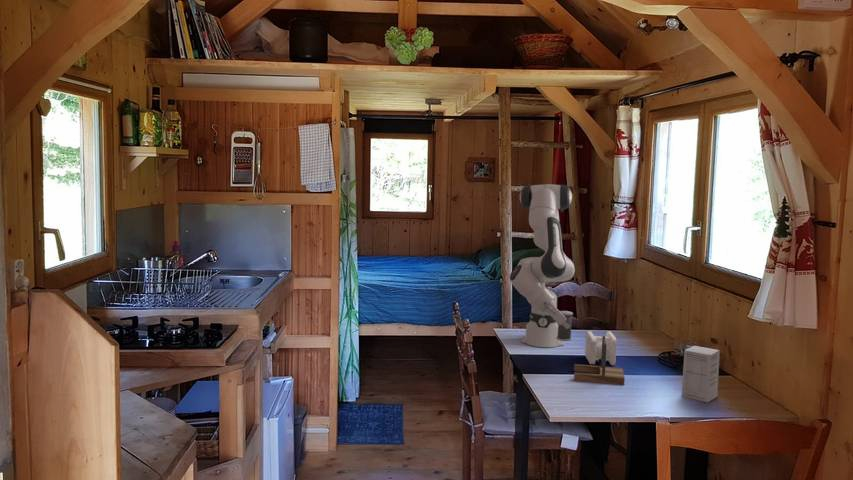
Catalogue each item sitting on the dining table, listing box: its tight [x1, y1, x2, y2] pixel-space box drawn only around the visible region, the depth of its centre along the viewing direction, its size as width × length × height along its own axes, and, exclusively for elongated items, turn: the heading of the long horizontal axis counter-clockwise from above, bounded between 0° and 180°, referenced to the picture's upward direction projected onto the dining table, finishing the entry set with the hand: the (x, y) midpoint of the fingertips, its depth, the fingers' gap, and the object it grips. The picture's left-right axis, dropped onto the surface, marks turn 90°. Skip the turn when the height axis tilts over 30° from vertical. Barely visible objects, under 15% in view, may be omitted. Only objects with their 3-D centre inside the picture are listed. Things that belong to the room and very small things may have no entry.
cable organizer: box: [584, 330, 617, 366], centre depth 280 cm, size 15×11×12 cm
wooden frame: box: [573, 335, 625, 386], centre depth 260 cm, size 13×18×14 cm
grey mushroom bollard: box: [557, 310, 574, 342], centre depth 268 cm, size 6×6×11 cm
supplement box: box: [681, 345, 721, 403], centre depth 240 cm, size 10×9×17 cm
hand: (566, 325), depth 268 cm, fingers closed on grey mushroom bollard, 5 cm apart
